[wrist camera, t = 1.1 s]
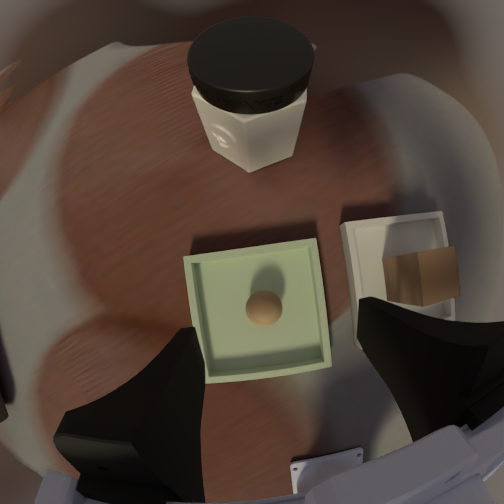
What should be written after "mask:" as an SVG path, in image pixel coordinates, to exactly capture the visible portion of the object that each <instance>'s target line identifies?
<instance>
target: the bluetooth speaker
mask: <svg viewBox="0 0 504 504" xmlns="http://www.w3.org/2000/svg"><path fill="white" fill-rule="evenodd" d="M8 416H9V415H8V412H7V409H6V407H5V404H4V401H3V398H2V395H1V393H0V422H2V421H4V420H6V419H7V418H8Z"/></svg>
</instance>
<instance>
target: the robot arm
mask: <svg viewBox="0 0 504 504" xmlns="http://www.w3.org/2000/svg"><path fill="white" fill-rule="evenodd" d="M356 337H357V339H358V341H359V343H360V345H361V347H362V349H363V351H364V353H365V354H366V356H367V357H368V359H369V360H370V362H371V363H372V364H373V366H374V367H375V369H376V370H377V372H378V373H379V374H380V376H381V377H382V379H383V380H384V381H385V383H386V384H387V386H388V387H389V389H390V391H391V392H392V394H393V396H394V398H395V400H396V402H397V404H398V406H399V408H400V410H401V413H402V415H403V417H404V419H405V422H406V424H407V427H408V429H409V432H410V435H411V437H412V440H413V443H411V444H409V445H407V446H405V447H402V448H400V449H398V450H396V451H393V452H391V453H388V454H386V455H384V456H381V457H379V458H376V459H373V460H371V461H368V462H365V463H363V449H362V447H358V448H354V449H350V450H347V451H343V452H339V453H335V454H330V455H326V456H321V457H316V458H311V459H305V460H299V461H294V462H292V463H291V464H290V469H291V477H292V486H293V494H292V495H286V496H280V497H274V498H267V499H259V500H250V501H239V502H223V503H205V496H204V488H203V477H202V464H201V441H200V429H201V417H202V408H203V400H204V391H205V362H204V358H203V355H202V351H201V347H200V344H199V340H198V336H197V332H196V329H195V327H188V328H181V329H180V330H179V331H178V332H177V333H176V335H175V336H174V337H173V338H172V339H171V341H170V342H169V343H168V344H167V345H166V346H165V347H164V349H163V350H162V351H161V352H160V353H159V354H158V355H157V356H156V357H155V358H154V359H153V360H152V361H151V362H150V363H149V364H148V365H147V366H146V367H145V368H144V369H143V370H142V371H140V372H139V373H138V374H137V375H136V376H134V377H133V378H132V379H130V380H129V381H128V382H126V383H125V384H123V385H122V386H120V387H119V388H117V389H116V390H114V391H112V392H111V393H109V394H107V395H105V396H103V397H102V398H100V399H97V400H95V401H93V402H91V403H89V404H86V405H84V406H81V407H78V408H76V409H73V410H70V411H67V412H66V413H65V415H64V417H63V419H62V421H61V423H60V425H59V427H58V429H57V431H56V433H55V435H54V443H55V446H56V448H57V449H58V451H59V452H60V453H61V454H62V455H63V457H64V458H65V459H66V460H67V461H68V462H69V463H70V464H71V465H72V466H73V467H74V468H75V469H76V470H77V471H79V472H80V473H81V474H80V477H79V480H77V479H76V478H74V477H72V476H69V475H66V474H63V473H60V472H57V471H54V470H51V469H47V471H46V473H45V476H44V478H43V481H42V483H41V486H40V489H39V492H38V494H37V498H36V500H35V503H34V504H497V503H496V501H495V499H494V498H493V496H492V495H491V493H490V492H489V490H488V489H487V487H486V486H485V484H484V481H485V480H486V479H487V478H488V477H490V476H491V475H492V474H493V473H494V472H495V471H497V470H498V469H499V468H500V467H501V466H502V465H503V464H504V321H501V322H490V323H471V322H459V321H451V320H445V319H440V318H436V317H431V316H428V315H424V314H421V313H418V312H415V311H412V310H409V309H406V308H403V307H400V306H398V305H395V304H392V303H390V302H387V301H384V300H381V299H379V298H375V297H371V296H370V297H365V298H361V299H359V305H358V322H357V336H356ZM358 454H359V455H358ZM293 468H296V469H293Z"/></svg>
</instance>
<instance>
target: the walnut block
mask: <svg viewBox="0 0 504 504" xmlns="http://www.w3.org/2000/svg"><path fill="white" fill-rule="evenodd" d="M382 263H383V271H384V278H385V287H386V296H387V301H391V302H396V303H402V304H408V305H414V306H420V307H425V306H429V305H432V304H435V303H439V302H442V301H445V300H448V299H451V298H454V297H457V296H460V287H459V276H458V267H457V259H456V251H455V245H454V246H449V247H444V248H438V249H433V250H427V251H422V252H416V253H410V254H405V255H399V256H394V257H388V258H383V259H382Z"/></svg>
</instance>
